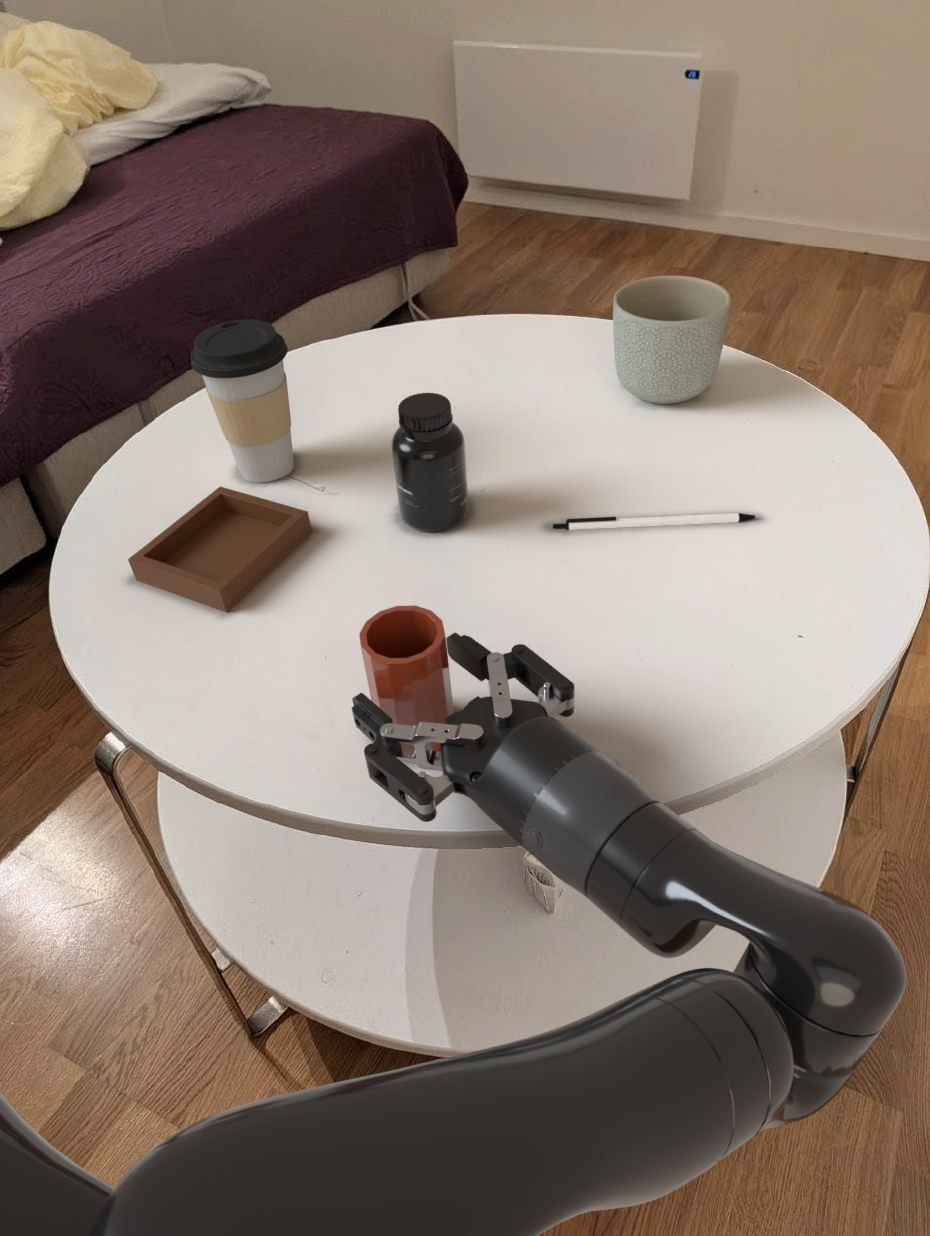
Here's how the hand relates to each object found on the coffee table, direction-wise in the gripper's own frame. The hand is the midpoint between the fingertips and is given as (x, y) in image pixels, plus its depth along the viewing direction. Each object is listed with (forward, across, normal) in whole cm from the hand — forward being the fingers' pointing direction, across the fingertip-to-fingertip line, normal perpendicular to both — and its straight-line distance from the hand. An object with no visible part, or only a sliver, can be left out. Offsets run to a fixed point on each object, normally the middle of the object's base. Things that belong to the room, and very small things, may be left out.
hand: (405, 672), depth 66 cm
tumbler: (0, 0, -6) cm, 6 cm away
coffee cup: (+40, +12, -6) cm, 42 cm away
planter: (+20, +53, -6) cm, 57 cm away
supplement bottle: (+20, +19, -6) cm, 29 cm away
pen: (+4, +32, -6) cm, 33 cm away
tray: (+30, +1, -6) cm, 30 cm away
